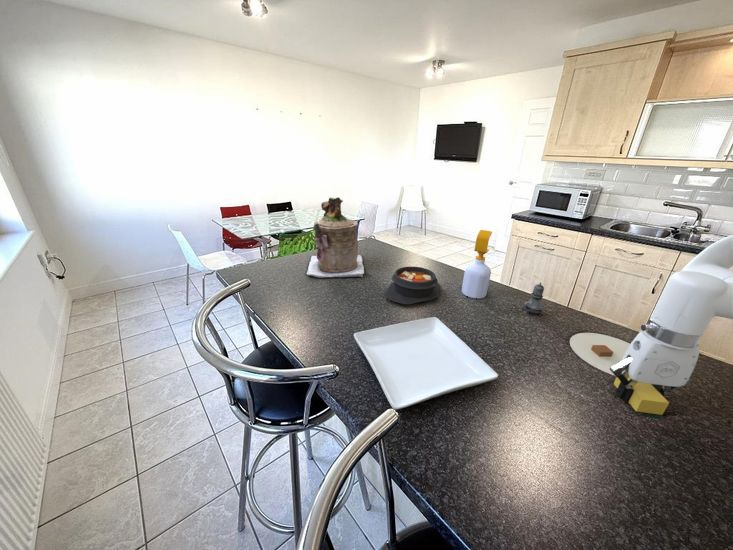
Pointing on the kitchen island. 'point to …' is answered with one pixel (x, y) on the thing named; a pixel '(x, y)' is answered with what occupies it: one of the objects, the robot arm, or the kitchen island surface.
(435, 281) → the casserole
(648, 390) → the sponge
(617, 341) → the plate
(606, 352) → the block
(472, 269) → the soap bottle
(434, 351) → the square plate
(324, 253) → the cookie jar
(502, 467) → the kitchen island surface
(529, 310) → the grey chess piece
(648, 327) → the robot arm
